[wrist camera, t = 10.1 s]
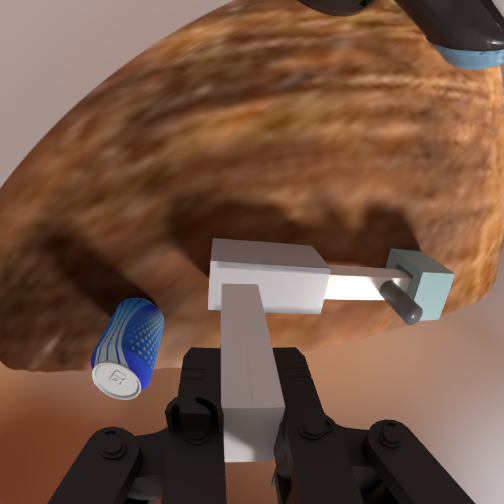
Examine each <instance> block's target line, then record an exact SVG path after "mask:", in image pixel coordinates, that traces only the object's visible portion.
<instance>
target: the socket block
mask: <svg viewBox="0 0 504 504" xmlns="http://www.w3.org/2000/svg"><path fill="white" fill-rule="evenodd" d="M385 269H402V270H407V271H408V272H409V273H410V274H412V275H413V279H412V283H411V286H410V289H409V292H408V295H409V296H410V297H411V298H412V299H413V300H414V301H415V302H416V303H417V304H418V305H419V306H420V307H421V308H422V310H423V314H422V317H421V318H420V320H419V321H422V320H438V319H439V317H440V315H441V312H442V310H443V307H444V304H445V302H446V299H447V296H448V293H449V290H450V287H451V285H452V282H453V278H454V275H455V274H454V273H453V272H451V271H450V270H448V269H447V268H446V267H444V266H443V265H441V264H440V263H438V262H437V261H435V260H434V259H432V258H431V257H429V256H428V255H426V254H425V253H423V252H422V251H412V250H402V249H392V248H390V252H389V256H388V260H387V264H386V268H385Z"/></svg>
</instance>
